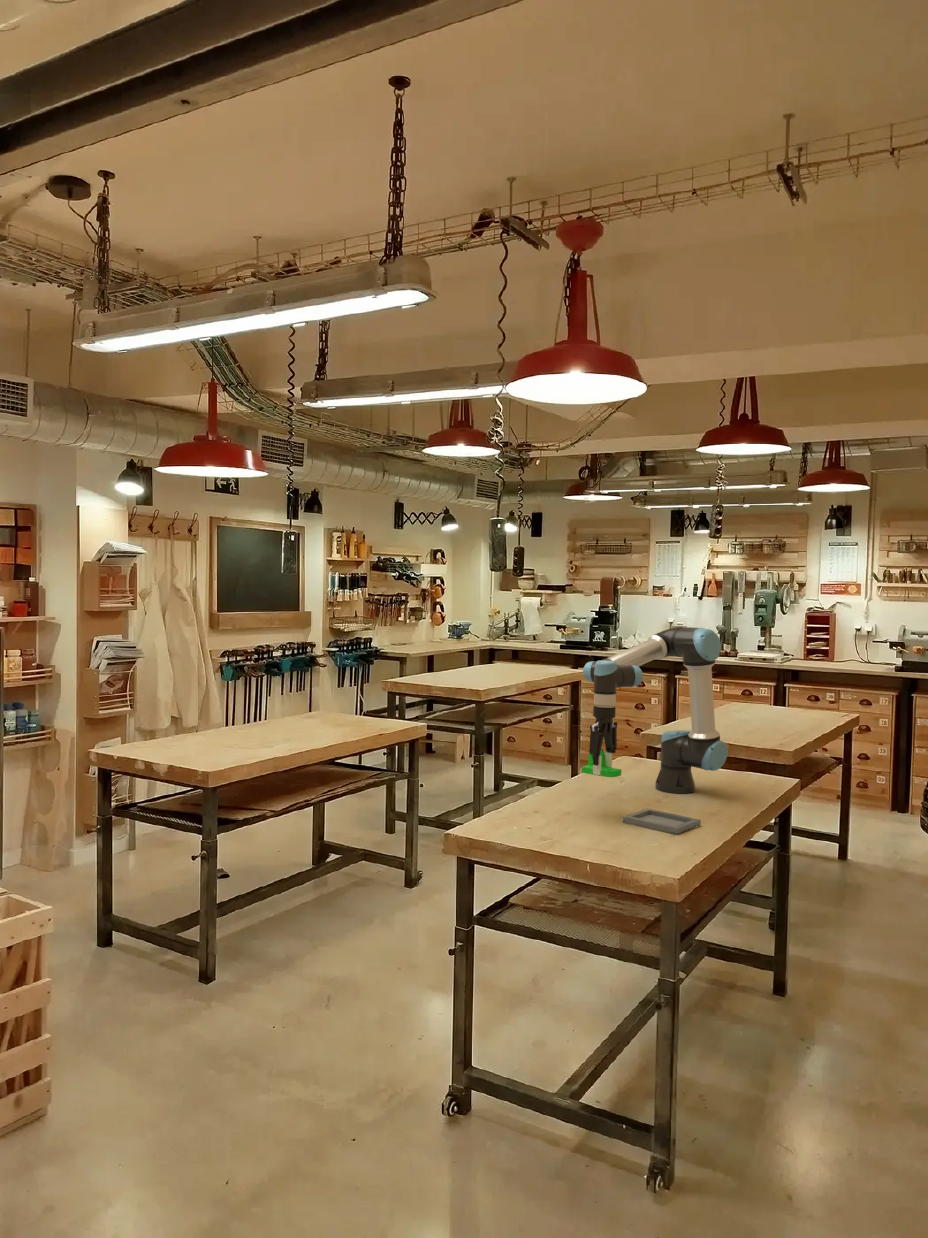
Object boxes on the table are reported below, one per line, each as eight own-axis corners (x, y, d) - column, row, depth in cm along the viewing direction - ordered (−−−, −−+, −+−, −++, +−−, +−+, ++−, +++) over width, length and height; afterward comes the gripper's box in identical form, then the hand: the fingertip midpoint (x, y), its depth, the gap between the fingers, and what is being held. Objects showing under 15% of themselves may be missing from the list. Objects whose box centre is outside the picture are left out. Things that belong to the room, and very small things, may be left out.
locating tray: (647, 814, 304) (647, 808, 304) (700, 825, 291) (700, 819, 291) (622, 822, 292) (622, 816, 292) (676, 835, 279) (677, 828, 279)
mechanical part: (581, 772, 302) (582, 749, 301) (591, 769, 306) (591, 747, 306) (612, 778, 294) (612, 754, 294) (621, 775, 299) (621, 752, 298)
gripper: (610, 702, 309) (608, 767, 310) (579, 707, 295) (577, 775, 295) (628, 704, 304) (626, 770, 305) (598, 709, 290) (596, 779, 290)
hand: (602, 772), depth 300 cm, fingers closed on mechanical part, 6 cm apart
